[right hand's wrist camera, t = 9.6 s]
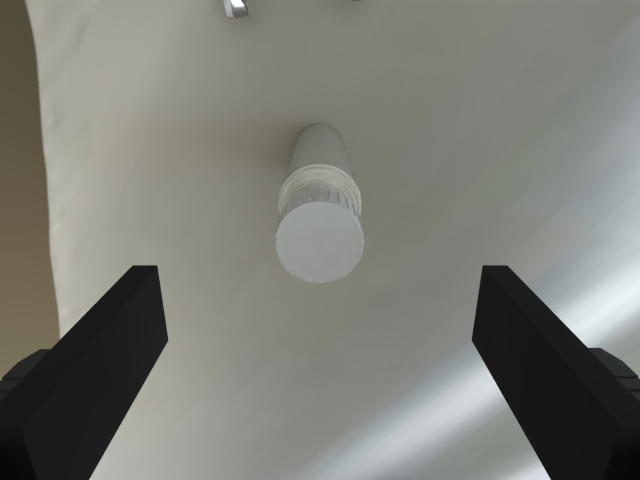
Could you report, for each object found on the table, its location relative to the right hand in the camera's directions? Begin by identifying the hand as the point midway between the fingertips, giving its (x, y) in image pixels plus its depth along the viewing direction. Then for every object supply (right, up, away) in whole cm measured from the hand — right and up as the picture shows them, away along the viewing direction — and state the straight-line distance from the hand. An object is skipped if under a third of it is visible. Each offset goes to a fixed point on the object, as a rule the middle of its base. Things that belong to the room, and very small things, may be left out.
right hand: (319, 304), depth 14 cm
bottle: (0, +11, +29) cm, 31 cm away
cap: (0, +2, +5) cm, 5 cm away
